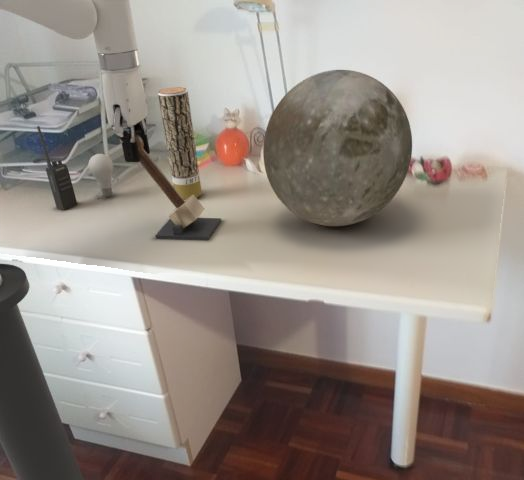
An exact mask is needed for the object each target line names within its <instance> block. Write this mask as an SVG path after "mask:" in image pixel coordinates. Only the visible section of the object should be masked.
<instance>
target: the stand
mask: <svg viewBox="0 0 524 480" xmlns="http://www.w3.org/2000/svg"><path fill="white" fill-rule="evenodd" d="M221 222H222V218H221V217H198V218H197V219H196V220H195V221H194V222H192V223H191V224H189V225H188V226H186V227H185V228H183V226H182V225H175V224H174V223H173V221H172V220H171V219H170V218H169V219H168V220H167V222H166V223H164V225H163V226H162V227H161V228H160V229H159V230H158V232H156V234H155V239H159V240H160V239H161V240H187V241H188V240H190V241H208V240H209V239H210V237H212V235H213V233H214V232H215V231H216V229H217V228H218V226H219V225H220V224H221Z"/></svg>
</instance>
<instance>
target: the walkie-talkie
mask: <svg viewBox="0 0 524 480" xmlns="http://www.w3.org/2000/svg"><path fill="white" fill-rule="evenodd" d="M36 128H37V132H38V136H39V140H40V144H41V148H42V151H43V154H44V157H45V161H46V166H47V167H46V168H45V172H46V176H47V179H48V182H49V186H50V189H51V193H52V196H53V201H54V203H55V207H56V209H57V210H58V209H59V210H63V211H66V210H69V209H70V208H73V207H75V206H77V205H78V200H77V197H76V194H75V190H74V186H73V183H72V178H71V175H70V171H69V168H68V166H67V164H65V163H63V161H62V159H61V158H60V159H57V160H56V159H52V160H50V156H49V152H48V149H47V146H46V143H45V140H44V137H43V133H42V131H41V127H40V125H36Z"/></svg>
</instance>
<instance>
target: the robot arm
mask: <svg viewBox="0 0 524 480" xmlns="http://www.w3.org/2000/svg"><path fill="white" fill-rule="evenodd" d="M0 10H2V11H5V12H9V13H12V14H14V15H16V16H19V17H21V18H24V19H26V20H28V21H31V22H34V23H35V24H37V25H40V26H43V27H44V28H47V29H49V30H51V31H54V32H55V33H57V34H58V35H61V36H64V37H67V38H68V39H71V40H79V41H80V40H84V39H87V38H88V37H90V36H91V35H92V34H93V37H94V42H95V47H96V52H97V57H98V61H99V66H100V71H101V73H102V74H101V82H102V83H101V84H102V91H103V100H104V105H105V112H106V117H107V123H108V126H109V127H110V128H112V129H113V133H114V134H115V135H117V137H118V138H119V142H120V143H121V147H122V153H123V157H124V160H125V163H140V162H139V161H140V155H139V150H138V144H137V142H135V137H134V133H135V134H137V135H139V136H140V137H141V138H142V140H143V143H144V148H143V149H144V150H145V151H146V152H147V154H148V155H150V153H151V150H150V143H149V140H148V129H147V125H146V124H147V117H148V114H149V110H148V101H147V96H146V92H145V88H144V83H143V79H142V75H141V72H140V71H141V70H140V69H142V68H141V61H140V55H139V50H138V44H137V39H136V38H137V37H136V31H135V27H134V21H133V15H132V9H131V4H130V0H0ZM124 124H126V125H124ZM127 130H128V131H127ZM1 284H2V277H1V275H0V286H1Z"/></svg>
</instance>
